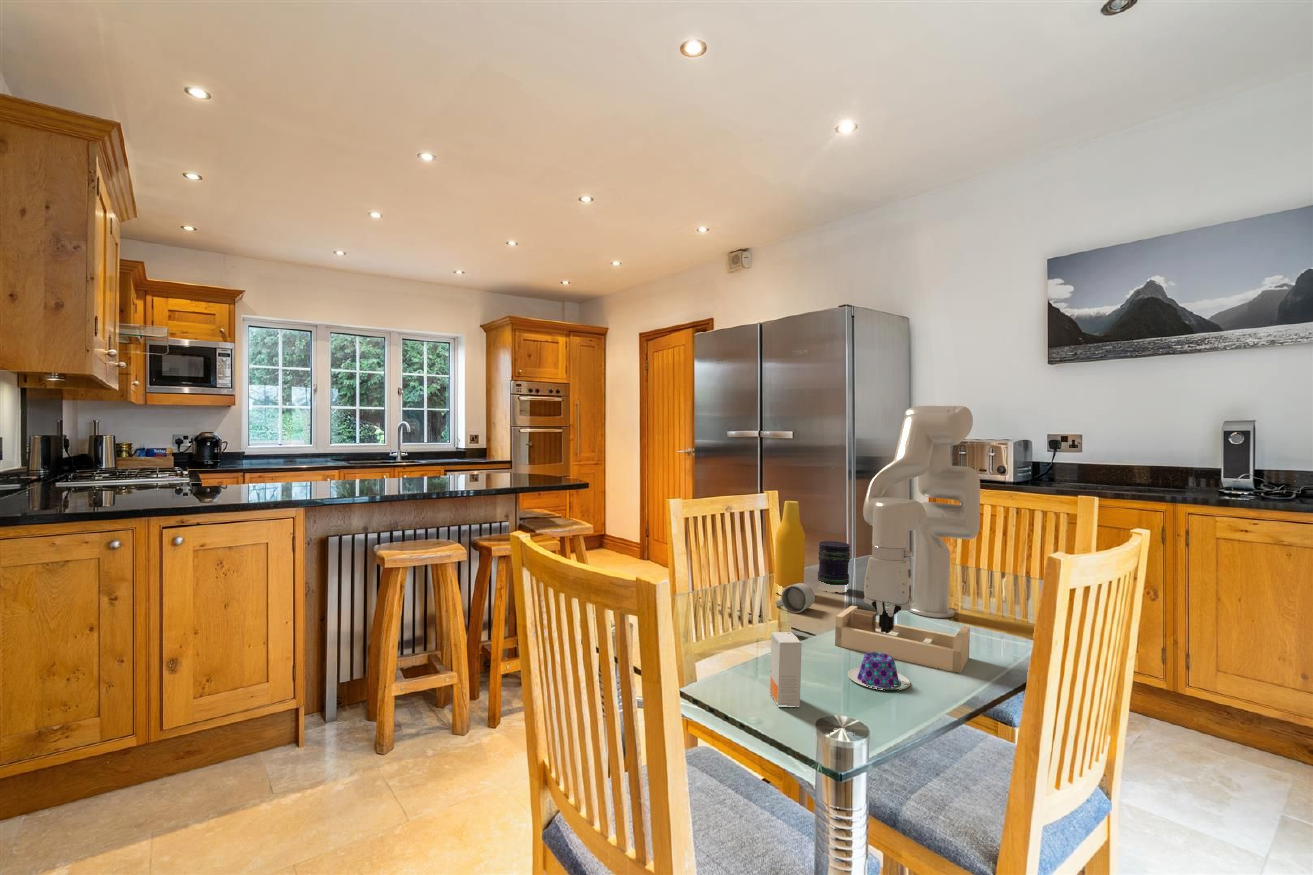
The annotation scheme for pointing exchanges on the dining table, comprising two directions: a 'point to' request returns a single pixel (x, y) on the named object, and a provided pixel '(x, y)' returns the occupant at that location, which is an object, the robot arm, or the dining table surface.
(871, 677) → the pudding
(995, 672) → the dining table surface
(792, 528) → the beer bottle
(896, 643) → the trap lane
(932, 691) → the dining table surface
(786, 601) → the ceramic mug
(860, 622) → the walnut block
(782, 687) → the skincare box
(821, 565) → the storage jar
